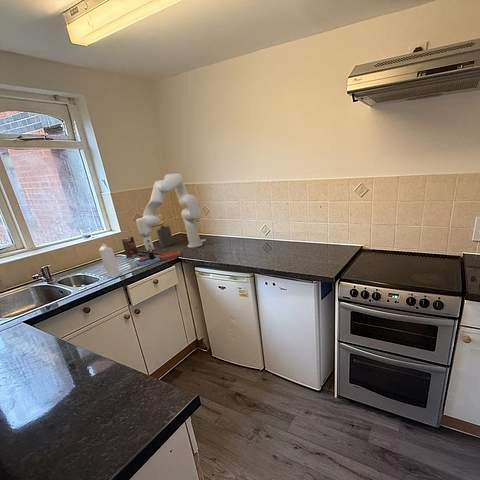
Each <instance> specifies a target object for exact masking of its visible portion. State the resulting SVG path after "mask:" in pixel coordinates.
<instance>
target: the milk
mask: <svg viewBox="0 0 480 480" xmlns="http://www.w3.org/2000/svg"><path fill="white" fill-rule="evenodd" d="M101 245H102V246H100V248H99V249H98V252H99V255H100V257H101V261H102V263H103V267H104V271H105V273H106V275H107V278H111V279H112V278H115V277H119V276H121V272H120V268H119V266H118V261H117V258H116V256H115V253H114V249H113V247H109V246H107V244H105V243H101Z"/></svg>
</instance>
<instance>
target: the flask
mask: <svg viewBox="0 0 480 480" xmlns="http://www.w3.org/2000/svg"><path fill="white" fill-rule="evenodd" d="M159 227H160V228H158V229H156V234H157V238H158V242H159V246H160V248H161V249H164V248H166V247H168V246H171V245H173V244H174V240H173V236H172V231H171V227H170V225H167V226H164V224H162V225H159Z"/></svg>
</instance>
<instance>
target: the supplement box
mask: <svg viewBox="0 0 480 480" xmlns="http://www.w3.org/2000/svg"><path fill="white" fill-rule="evenodd" d="M121 243H122V247H123V249H124V253H125V257H126V259H127V260H131V259H134V258H136V257H138V256H139V252H138V249H137V245H136V242H135V238H134V236H128V237H125V238H122V239H121Z"/></svg>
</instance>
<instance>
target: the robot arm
mask: <svg viewBox="0 0 480 480" xmlns="http://www.w3.org/2000/svg"><path fill="white" fill-rule="evenodd" d="M173 190H174V192H175V193H176V197H177V200H178V203H179V205H180V206H181V207H183V209H182V210H181V213H180V215H181V218H182V221H183V224H184V228H185V232H186V236H187V241H188V244H187V248H190V249H193V248H199V247H202V246H203V245H204V243H205V242H207V239H205V238H204V239H201V238H200V232H199V230H198V229H199V228H198V223H197V221H199V220H200V219H201V216H202V211H201V208H200V204H199V201H198V198H197V197H196V196H195V195H194V194H189V192H188V190H187V187H186V185H185V183H184V177H183V176H182V174H180V173H178V172H177V173H176V172H175V173H167V174H165V175H164V176H163V179H161V180H156V181H155V182H154V183H153V187H152V191H151V195H150V200H149V201H148V203H147V204H146V206H145V208H144V210H143V213H142V217H139V218H136V220H135V222H136V226H137V229H138V233H139V237H140V239H142V242H143V245H144V249H145V250H146V251H147V255H149V257H150V260H152V259H155V258H154V254H155V253H154V251H155V247H154V243H153V240H152V235H153V234H152V232H151V227H157V226H158V225H160V223H161V219H160V217H158V216H157V215H154V214H155V212H156V210H157V209H158V208H160V207H161V206H162V205H163V203H164V198H165V194H166V193H169V192H172V191H173ZM184 207H185V208H184Z"/></svg>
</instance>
